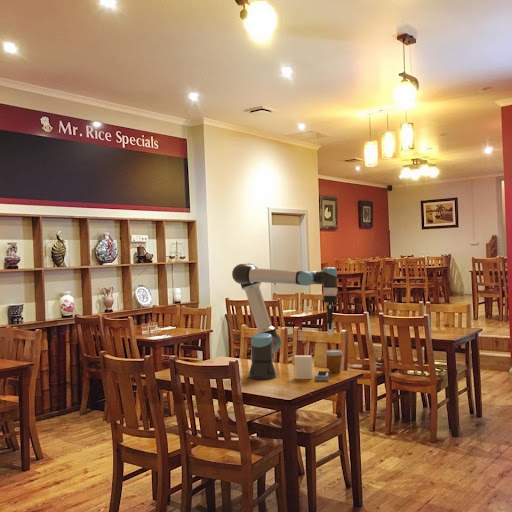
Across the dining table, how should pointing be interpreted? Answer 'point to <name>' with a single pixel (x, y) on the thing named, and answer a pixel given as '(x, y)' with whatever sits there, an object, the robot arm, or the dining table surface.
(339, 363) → the disposable coffee cup
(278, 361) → the dining table surface
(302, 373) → the door panel
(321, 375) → the track
